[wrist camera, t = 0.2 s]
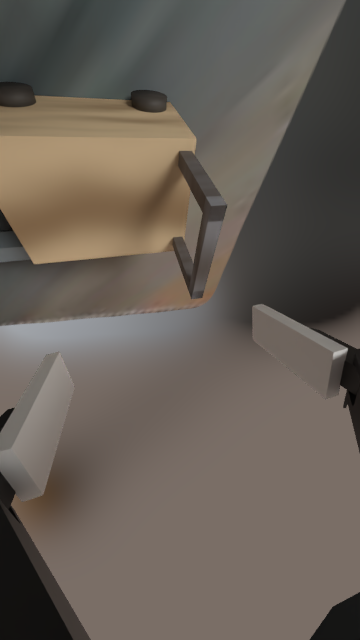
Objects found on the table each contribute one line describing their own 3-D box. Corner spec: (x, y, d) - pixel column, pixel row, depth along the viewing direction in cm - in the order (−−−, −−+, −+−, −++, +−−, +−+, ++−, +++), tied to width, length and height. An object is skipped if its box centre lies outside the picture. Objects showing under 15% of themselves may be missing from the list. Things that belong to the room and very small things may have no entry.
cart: (-20, 79, 13) (-115, 185, 7) (170, 90, 16) (239, 176, 9) (44, 219, 21) (29, 334, 14) (165, 212, 24) (201, 307, 17)
